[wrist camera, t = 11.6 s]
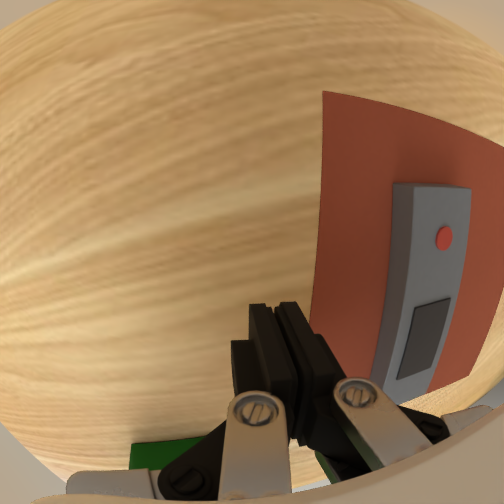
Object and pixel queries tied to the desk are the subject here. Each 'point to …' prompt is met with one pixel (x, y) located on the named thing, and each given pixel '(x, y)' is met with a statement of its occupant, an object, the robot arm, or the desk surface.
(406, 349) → the remote
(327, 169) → the mat
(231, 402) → the robot arm
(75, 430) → the desk surface
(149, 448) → the milk carton
